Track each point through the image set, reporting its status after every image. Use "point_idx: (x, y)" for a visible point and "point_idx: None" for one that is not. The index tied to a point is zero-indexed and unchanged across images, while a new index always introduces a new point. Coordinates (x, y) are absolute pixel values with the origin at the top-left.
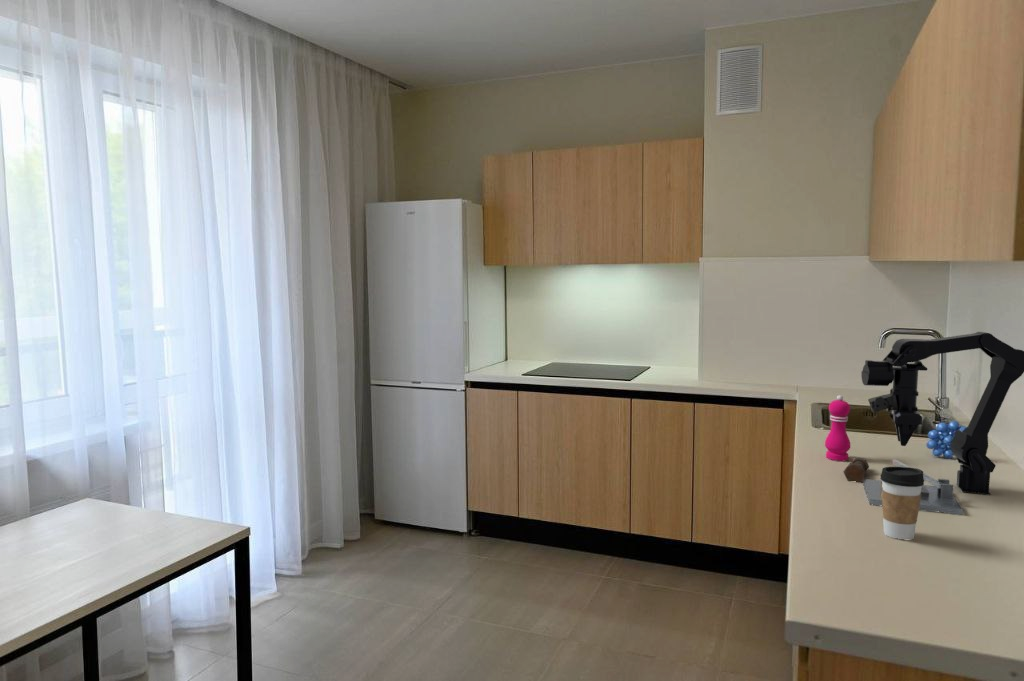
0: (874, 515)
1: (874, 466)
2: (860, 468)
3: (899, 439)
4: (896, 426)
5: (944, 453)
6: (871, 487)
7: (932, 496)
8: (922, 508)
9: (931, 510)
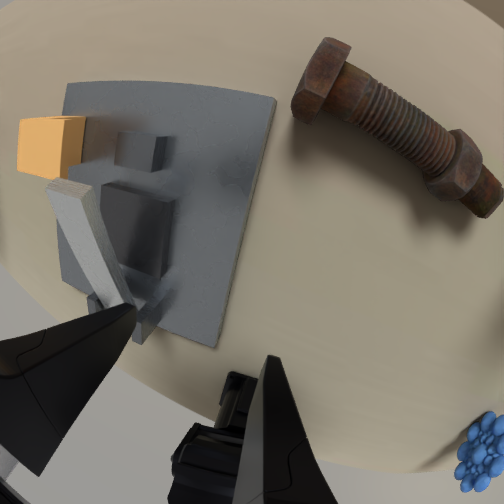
0: (34, 92)
1: (493, 258)
2: (298, 87)
3: (264, 368)
4: (263, 455)
5: (478, 428)
6: (158, 100)
7: None
8: None
9: None
